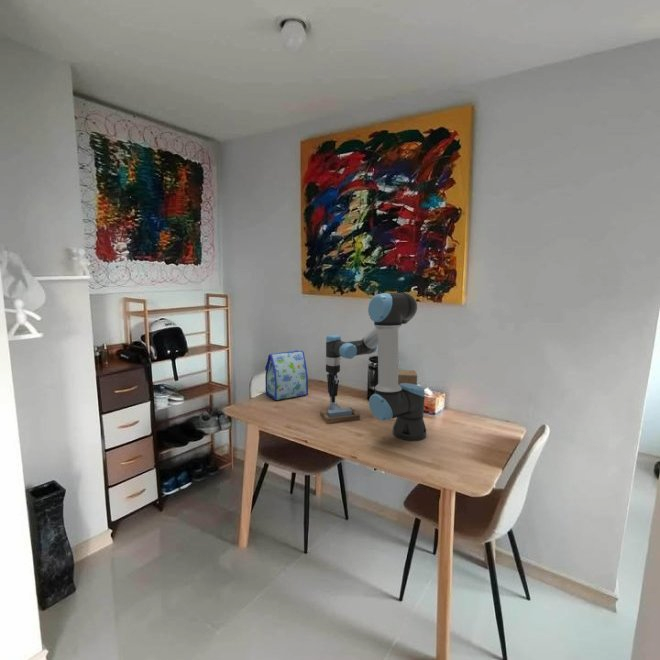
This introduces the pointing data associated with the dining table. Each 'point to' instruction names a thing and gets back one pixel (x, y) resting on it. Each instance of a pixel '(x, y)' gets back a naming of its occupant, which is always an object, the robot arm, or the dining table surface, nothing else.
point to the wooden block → (407, 377)
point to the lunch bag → (286, 375)
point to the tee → (338, 411)
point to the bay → (340, 417)
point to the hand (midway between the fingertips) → (332, 407)
